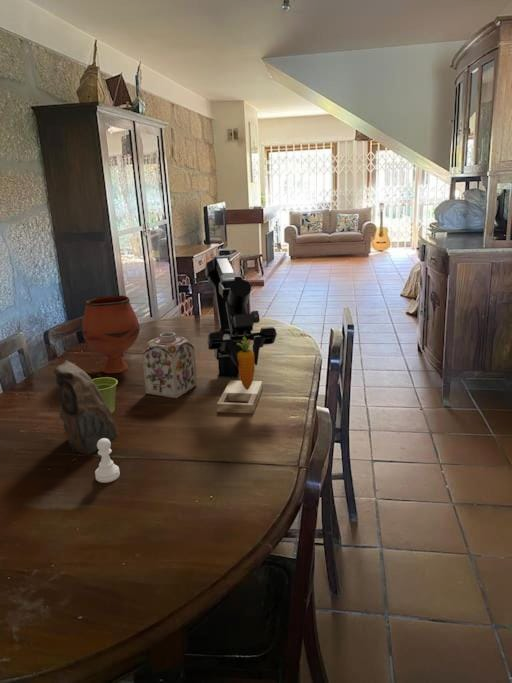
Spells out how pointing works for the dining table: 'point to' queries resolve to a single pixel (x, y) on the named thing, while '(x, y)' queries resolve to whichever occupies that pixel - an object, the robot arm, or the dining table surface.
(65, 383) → the owl
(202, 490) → the dining table surface
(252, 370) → the carrot
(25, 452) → the dining table surface
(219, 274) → the robot arm
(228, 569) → the dining table surface
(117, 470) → the chess pawn
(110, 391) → the plant pot
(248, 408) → the open matchbox
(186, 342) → the decorative jar
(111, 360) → the goblet
